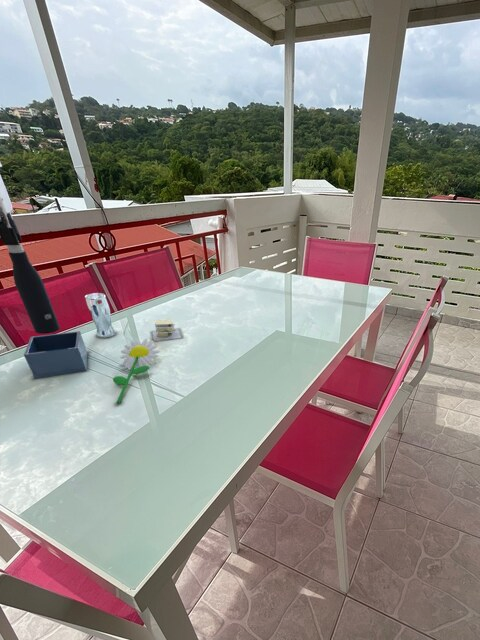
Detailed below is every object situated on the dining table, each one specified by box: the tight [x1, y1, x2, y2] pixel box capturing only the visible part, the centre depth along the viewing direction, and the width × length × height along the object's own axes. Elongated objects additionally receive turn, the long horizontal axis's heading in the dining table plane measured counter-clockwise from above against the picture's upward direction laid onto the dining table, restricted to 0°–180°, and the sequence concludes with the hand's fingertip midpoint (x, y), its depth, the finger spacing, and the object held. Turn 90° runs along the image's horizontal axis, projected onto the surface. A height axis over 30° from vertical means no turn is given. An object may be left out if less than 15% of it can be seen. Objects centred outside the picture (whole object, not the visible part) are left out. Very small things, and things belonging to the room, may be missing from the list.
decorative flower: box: [112, 338, 161, 404], centre depth 103 cm, size 13×5×30 cm
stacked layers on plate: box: [151, 318, 182, 342], centre depth 128 cm, size 10×9×6 cm
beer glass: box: [84, 292, 116, 338], centre depth 123 cm, size 7×7×15 cm
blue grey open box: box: [23, 330, 88, 379], centre depth 105 cm, size 14×14×8 cm
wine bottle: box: [4, 219, 61, 335], centre depth 93 cm, size 6×6×30 cm
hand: (13, 242), depth 88 cm, fingers closed on wine bottle, 3 cm apart
